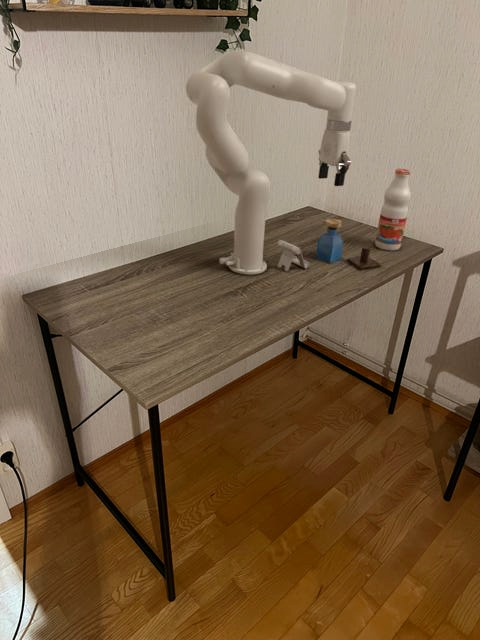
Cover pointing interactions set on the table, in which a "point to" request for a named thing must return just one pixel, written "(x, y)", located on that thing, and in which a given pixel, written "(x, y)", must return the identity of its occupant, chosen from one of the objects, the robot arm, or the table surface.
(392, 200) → the white yogurt drink bottle
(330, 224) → the chip
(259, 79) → the robot arm
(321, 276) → the table surface
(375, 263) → the stand
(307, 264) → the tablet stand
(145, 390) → the table surface
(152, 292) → the table surface
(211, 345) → the table surface
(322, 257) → the perfume bottle
